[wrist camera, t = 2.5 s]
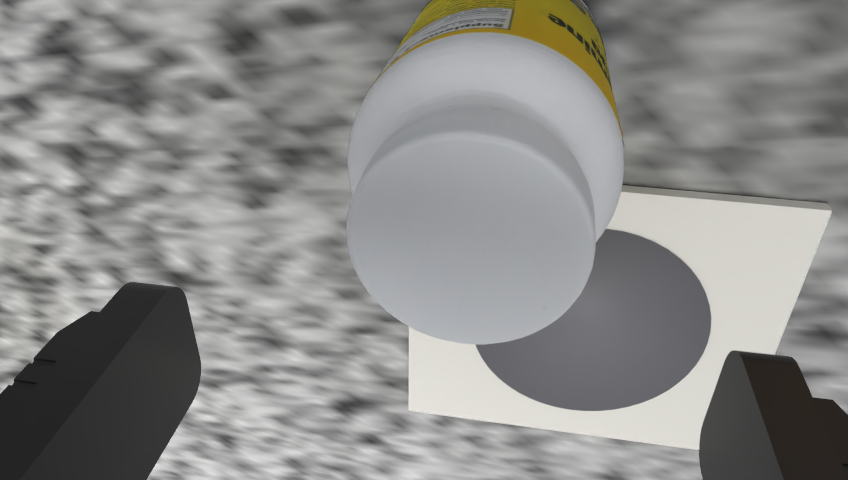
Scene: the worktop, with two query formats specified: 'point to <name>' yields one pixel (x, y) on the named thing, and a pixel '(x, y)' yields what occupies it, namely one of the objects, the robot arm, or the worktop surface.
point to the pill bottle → (485, 168)
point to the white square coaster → (639, 322)
